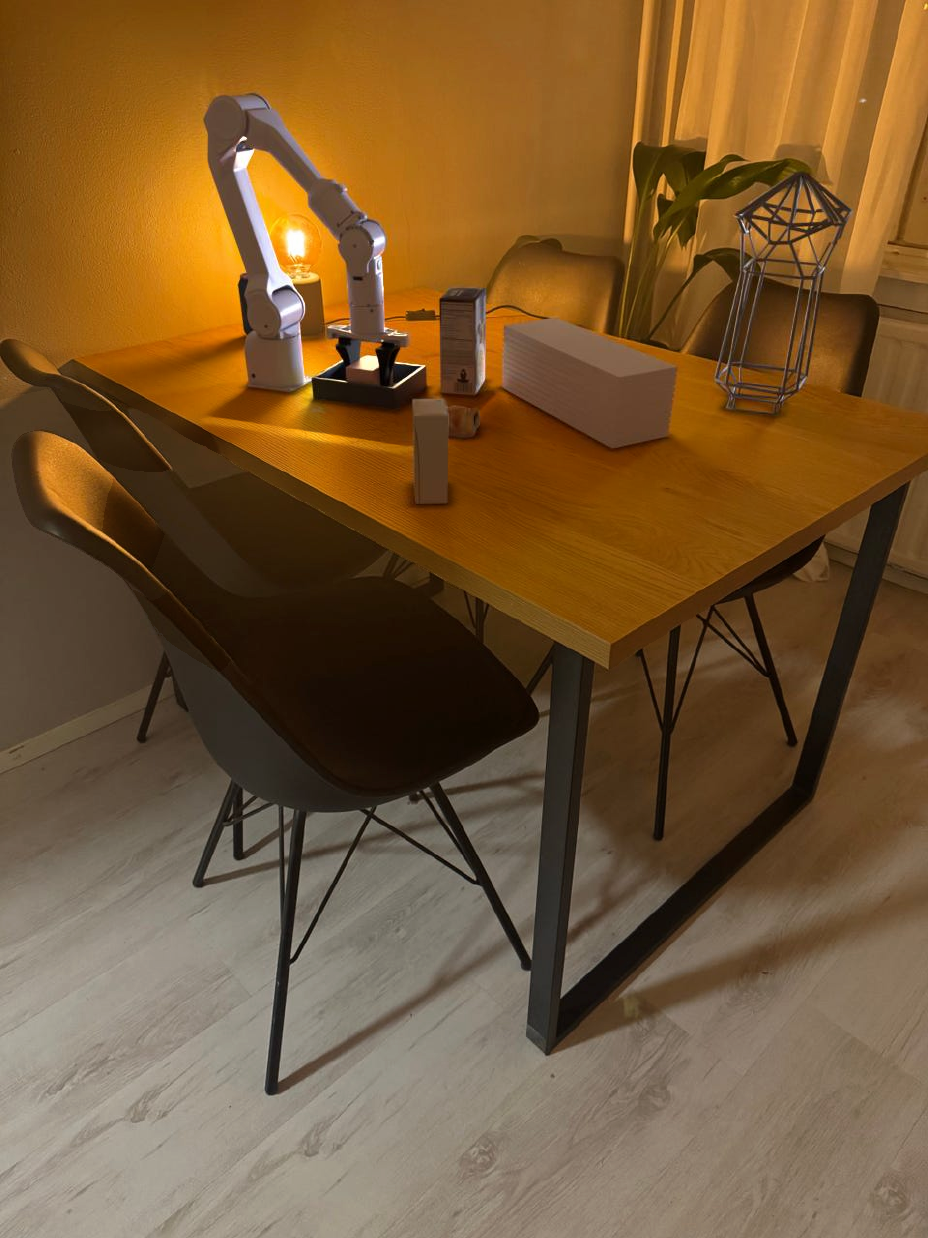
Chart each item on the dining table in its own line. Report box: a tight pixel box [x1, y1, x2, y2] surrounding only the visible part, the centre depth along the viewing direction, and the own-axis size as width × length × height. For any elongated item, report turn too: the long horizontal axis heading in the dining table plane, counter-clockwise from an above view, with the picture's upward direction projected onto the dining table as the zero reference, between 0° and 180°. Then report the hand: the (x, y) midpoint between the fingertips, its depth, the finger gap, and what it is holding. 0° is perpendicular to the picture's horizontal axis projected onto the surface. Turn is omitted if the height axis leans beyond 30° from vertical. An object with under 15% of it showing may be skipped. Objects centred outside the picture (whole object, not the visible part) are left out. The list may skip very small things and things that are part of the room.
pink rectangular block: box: [346, 354, 393, 387], centre depth 148 cm, size 5×8×5 cm, turn 159°
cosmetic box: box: [412, 397, 449, 505], centre depth 112 cm, size 6×4×12 cm
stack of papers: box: [501, 317, 679, 450], centre depth 140 cm, size 32×11×11 cm, turn 29°
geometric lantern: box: [713, 170, 853, 416], centre depth 136 cm, size 16×16×35 cm
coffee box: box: [438, 286, 487, 396], centre depth 149 cm, size 9×6×16 cm
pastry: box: [447, 405, 482, 439], centre depth 135 cm, size 9×7×4 cm
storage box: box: [311, 357, 428, 411], centre depth 149 cm, size 15×13×4 cm
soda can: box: [237, 272, 254, 336], centre depth 177 cm, size 7×7×12 cm
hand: (370, 384), depth 149 cm, fingers closed on pink rectangular block, 5 cm apart
